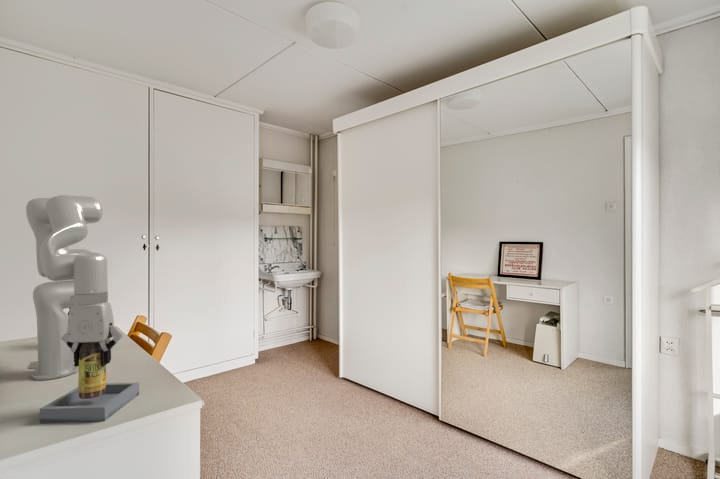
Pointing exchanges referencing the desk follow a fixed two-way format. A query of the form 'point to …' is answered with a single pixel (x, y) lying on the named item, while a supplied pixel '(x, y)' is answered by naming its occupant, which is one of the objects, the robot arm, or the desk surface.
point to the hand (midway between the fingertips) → (92, 363)
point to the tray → (89, 404)
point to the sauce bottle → (91, 371)
